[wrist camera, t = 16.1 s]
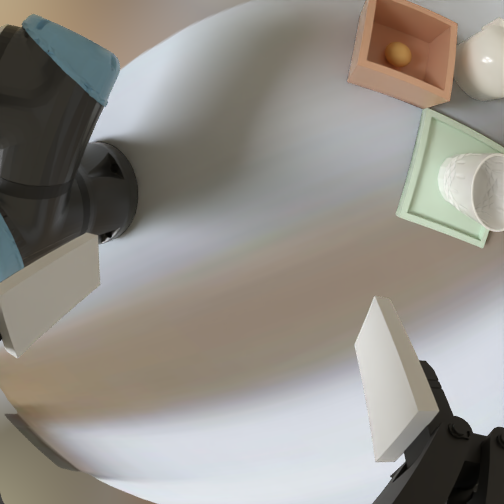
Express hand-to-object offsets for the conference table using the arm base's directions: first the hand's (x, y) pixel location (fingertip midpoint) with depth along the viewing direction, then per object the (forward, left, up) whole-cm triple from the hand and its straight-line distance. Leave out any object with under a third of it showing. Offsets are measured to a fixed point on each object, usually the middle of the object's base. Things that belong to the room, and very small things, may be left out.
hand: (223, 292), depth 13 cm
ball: (+10, +21, -23) cm, 32 cm away
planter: (+10, +21, -25) cm, 34 cm away
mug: (+22, +26, -25) cm, 42 cm away
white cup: (+22, +9, -25) cm, 34 cm away
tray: (+22, +9, -25) cm, 34 cm away
